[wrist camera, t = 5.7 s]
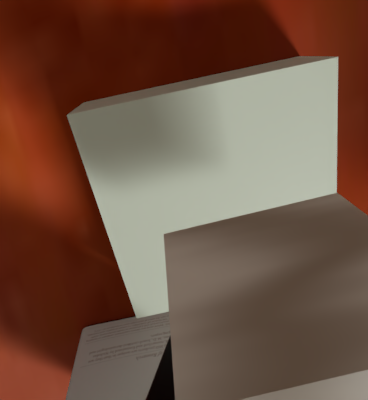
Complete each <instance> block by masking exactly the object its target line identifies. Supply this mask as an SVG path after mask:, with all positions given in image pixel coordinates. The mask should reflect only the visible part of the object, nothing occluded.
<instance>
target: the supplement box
mask: <svg viewBox="0 0 368 400" xmlns="http://www.w3.org/2000/svg"><path fill="white" fill-rule="evenodd" d="M170 335H171V334H170V319H169V312H165V313H160V314H155V315H151V316H146V317H142V318H136V317H130V318H125V319H121V320H116V321H111V322H106V323H101V324H96V325H92V326H88V327H85V328H84V329H83V330H82V333H81V337H80V341H79V345H78V349H77V353H76V358H75V362H74V366H73V370H72V374H71V379H70V383H69V387H68V392H67V396H66V400H146V397H147V395H148V392H149V389H150V387H151V384H152V381H153V379H154V376H155V373H156V371H157V368H158V366H159V363H160V360H161V358H162V355H163V352H164V350H165V347H166V345H167V342H168V339H169V337H170Z"/></svg>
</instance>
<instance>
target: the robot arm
mask: <svg viewBox="0 0 368 400" xmlns="http://www.w3.org/2000/svg"><path fill="white" fill-rule="evenodd" d="M146 400H175V391H174V377H173V363H172V348H171V335H170V337H169V339H168V342H167V345H166V347H165V350H164V352H163V355H162V358H161V360H160V363H159V366H158V368H157V371H156V373H155V376H154V379H153V381H152V384H151V387H150V389H149V392H148V395H147V397H146Z"/></svg>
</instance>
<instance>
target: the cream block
mask: <svg viewBox="0 0 368 400" xmlns="http://www.w3.org/2000/svg"><path fill="white" fill-rule="evenodd" d="M164 247H165V262H166V276H167V291H168V305H169V319H170V334H171V348H172V363H173V377H174V391H175V400H368V216H367V215H366V214H365V213H363V212H362V211H361V210H359V209H358V208H357V207H355V206H354V205H353V204H351V203H350V202H349V201H347V200H346V199H345V198H343V197H342V196H341V195H339V194H338V193H334V194H330V195H326V196H321V197H317V198H313V199H309V200H304V201H300V202H296V203H292V204H288V205H283V206H279V207H275V208H271V209H267V210H262V211H258V212H254V213H250V214H246V215H241V216H237V217H233V218H229V219H225V220H220V221H216V222H212V223H208V224H204V225H199V226H195V227H191V228H187V229H183V230H178V231H174V232H170V233H166V234H164Z"/></svg>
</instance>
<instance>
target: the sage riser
mask: <svg viewBox="0 0 368 400" xmlns="http://www.w3.org/2000/svg"><path fill="white" fill-rule="evenodd" d="M337 115H338V57H322V56H298V57H293V58H289V59H284V60H279V61H275V62H270V63H265V64H261V65H256V66H251V67H247V68H242V69H237V70H233V71H228V72H223V73H219V74H214V75H209V76H205V77H200V78H195V79H191V80H186V81H181V82H177V83H172V84H167V85H163V86H158V87H153V88H149V89H144V90H139V91H135V92H130V93H125V94H121V95H116V96H111V97H107V98H102V99H97V100H93V101H88V102H84V103H82V104H81V105H79V106H78V107H77V108H75V109H74V110H73V111H71V112H70V113H69V114H67V118H68V121H69V124H70V127H71V129H72V132H73V135H74V138H75V141H76V144H77V147H78V150H79V153H80V156H81V159H82V161H83V164H84V167H85V170H86V173H87V176H88V179H89V182H90V185H91V188H92V190H93V193H94V196H95V199H96V202H97V205H98V208H99V211H100V214H101V217H102V220H103V222H104V225H105V228H106V231H107V234H108V237H109V240H110V243H111V246H112V249H113V251H114V254H115V257H116V260H117V263H118V266H119V269H120V272H121V275H122V278H123V281H124V283H125V286H126V289H127V292H128V295H129V298H130V301H131V304H132V307H133V310H134V313H135V315H136V318H142V317H146V316H151V315H155V314H160V313H165V312H169V305H168V291H167V276H166V262H165V247H164V234H166V233H170V232H174V231H178V230H183V229H187V228H191V227H195V226H199V225H204V224H208V223H212V222H216V221H220V220H225V219H229V218H233V217H237V216H241V215H246V214H250V213H254V212H258V211H262V210H267V209H271V208H275V207H279V206H283V205H288V204H292V203H296V202H300V201H304V200H309V199H313V198H317V197H321V196H326V195H330V194H334V193H337Z"/></svg>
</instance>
